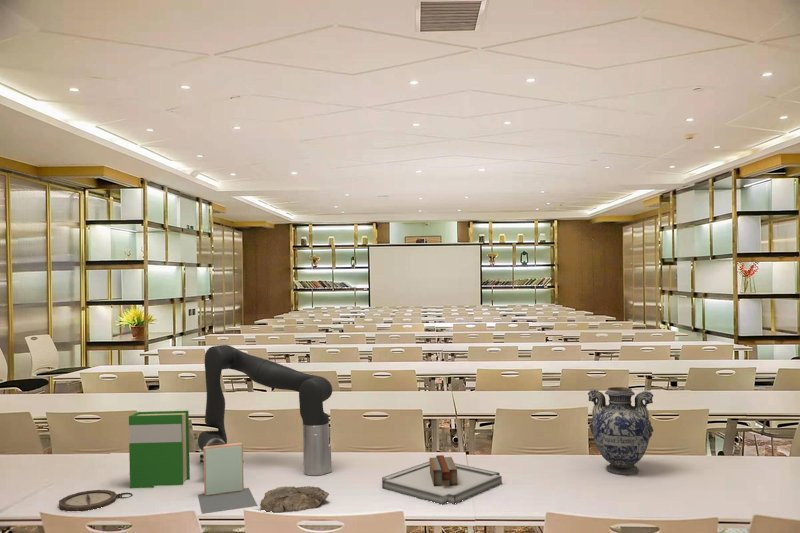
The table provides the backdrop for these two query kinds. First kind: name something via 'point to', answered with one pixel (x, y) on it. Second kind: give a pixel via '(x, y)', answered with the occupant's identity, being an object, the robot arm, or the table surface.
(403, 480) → the grey square tray
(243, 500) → the rubber mat
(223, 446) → the terracotta tile
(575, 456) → the table surface
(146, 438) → the hardback book
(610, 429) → the decorative vase
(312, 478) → the table surface
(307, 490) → the clay tablet
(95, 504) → the compass
